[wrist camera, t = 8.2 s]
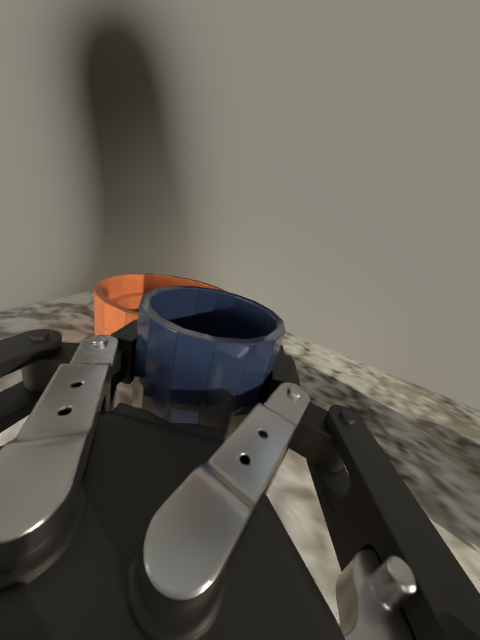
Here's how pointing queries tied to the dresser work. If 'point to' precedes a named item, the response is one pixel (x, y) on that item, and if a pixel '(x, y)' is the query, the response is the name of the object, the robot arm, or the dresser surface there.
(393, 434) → the dresser surface
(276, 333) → the blue cup
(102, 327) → the bowl
